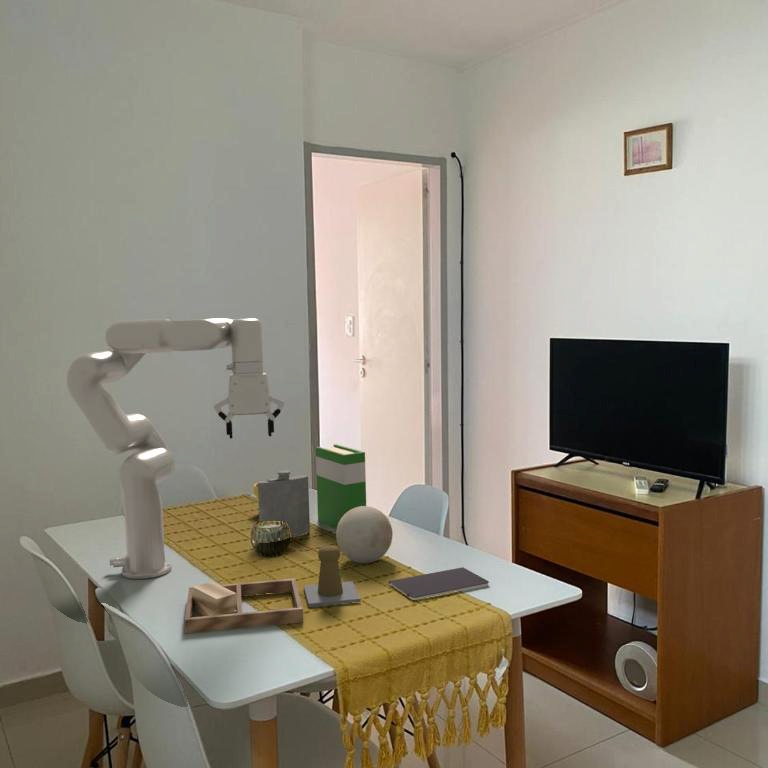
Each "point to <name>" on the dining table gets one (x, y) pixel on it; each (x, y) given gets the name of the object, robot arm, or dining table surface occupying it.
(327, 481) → the hardback book
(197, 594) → the top offcut
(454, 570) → the notebook
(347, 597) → the rubber mat
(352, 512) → the decorative sphere
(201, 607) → the block
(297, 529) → the hip flask
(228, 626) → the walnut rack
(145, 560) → the robot arm
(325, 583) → the cork
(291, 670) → the dining table surface
